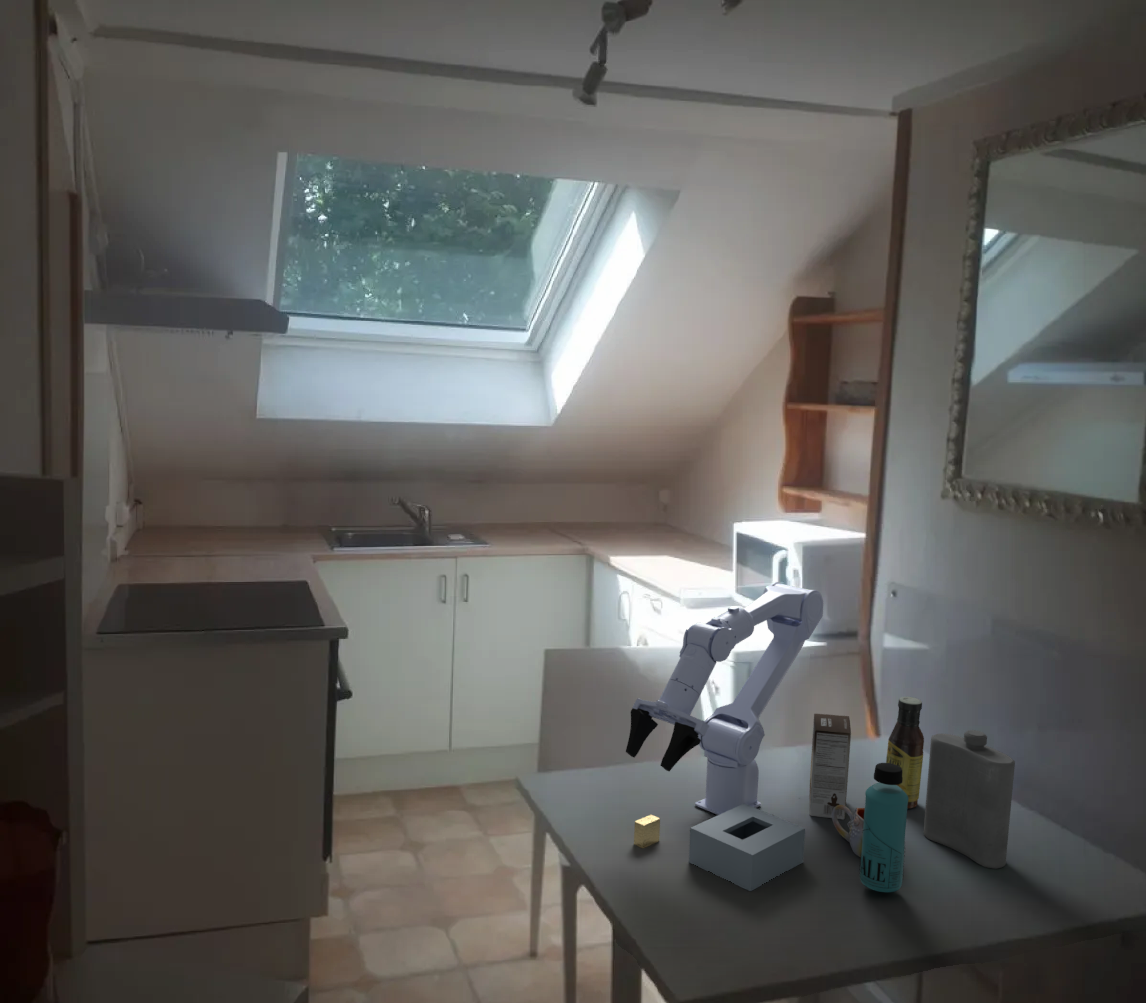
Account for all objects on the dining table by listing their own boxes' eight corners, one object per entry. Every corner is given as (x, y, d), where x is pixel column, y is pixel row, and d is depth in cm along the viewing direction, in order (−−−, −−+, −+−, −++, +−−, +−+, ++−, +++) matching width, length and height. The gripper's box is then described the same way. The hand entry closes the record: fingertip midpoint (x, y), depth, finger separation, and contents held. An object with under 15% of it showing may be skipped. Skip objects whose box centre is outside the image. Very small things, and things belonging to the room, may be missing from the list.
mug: (901, 858, 169) (905, 819, 168) (872, 867, 165) (875, 827, 165) (847, 828, 179) (850, 791, 178) (818, 836, 176) (821, 799, 175)
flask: (1015, 863, 168) (1026, 745, 165) (992, 872, 165) (1003, 751, 162) (939, 827, 181) (949, 716, 178) (917, 834, 178) (926, 721, 175)
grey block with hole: (742, 836, 175) (744, 803, 174) (803, 862, 166) (805, 828, 165) (688, 862, 165) (690, 827, 164) (750, 891, 156) (752, 855, 156)
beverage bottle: (902, 885, 160) (912, 761, 157) (901, 906, 153) (911, 777, 151) (859, 877, 162) (867, 754, 159) (855, 898, 156) (865, 770, 153)
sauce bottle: (877, 796, 193) (885, 693, 190) (910, 796, 193) (918, 693, 190) (891, 811, 186) (899, 704, 183) (924, 811, 187) (933, 705, 184)
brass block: (650, 837, 174) (651, 814, 173) (659, 841, 172) (660, 818, 172) (633, 844, 171) (634, 821, 170) (642, 848, 169) (643, 825, 169)
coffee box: (807, 795, 192) (813, 712, 190) (843, 799, 191) (849, 715, 189) (808, 816, 183) (814, 729, 181) (846, 820, 182) (852, 732, 180)
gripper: (640, 667, 176) (602, 738, 172) (707, 688, 166) (669, 764, 161) (660, 686, 181) (624, 756, 176) (726, 708, 170) (690, 783, 166)
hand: (647, 761), depth 169 cm, fingers open, 7 cm apart
